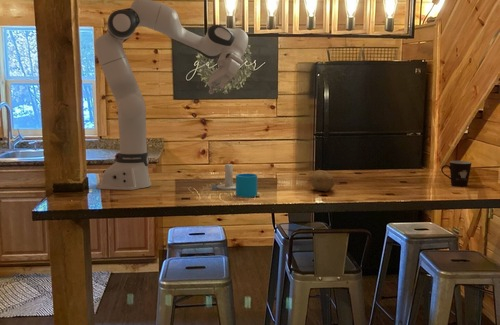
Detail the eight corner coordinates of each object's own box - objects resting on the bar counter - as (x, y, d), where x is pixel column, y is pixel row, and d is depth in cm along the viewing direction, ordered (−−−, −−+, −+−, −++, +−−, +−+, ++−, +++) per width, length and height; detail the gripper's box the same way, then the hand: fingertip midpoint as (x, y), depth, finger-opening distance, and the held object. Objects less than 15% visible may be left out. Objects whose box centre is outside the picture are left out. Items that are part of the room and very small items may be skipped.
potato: (314, 194, 207) (315, 174, 206) (306, 187, 221) (307, 168, 219) (339, 194, 208) (339, 174, 207) (329, 187, 222) (330, 168, 221)
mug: (257, 198, 201) (257, 177, 200) (236, 198, 200) (236, 177, 199) (256, 191, 213) (256, 171, 211) (235, 192, 212) (235, 171, 211)
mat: (211, 191, 213) (211, 190, 213) (212, 185, 225) (212, 184, 225) (246, 191, 213) (246, 190, 213) (245, 185, 225) (245, 184, 225)
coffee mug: (470, 184, 228) (472, 161, 227) (469, 188, 221) (471, 164, 219) (442, 182, 233) (443, 159, 232) (440, 185, 225) (441, 162, 224)
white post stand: (216, 189, 214) (216, 166, 213) (217, 185, 224) (217, 162, 223) (241, 189, 214) (241, 166, 213) (240, 185, 224) (240, 162, 223)
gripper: (211, 66, 231) (198, 92, 226) (233, 51, 213) (220, 79, 208) (223, 74, 233) (211, 100, 228) (245, 60, 215) (233, 88, 211)
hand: (215, 90), depth 218 cm, fingers open, 8 cm apart
